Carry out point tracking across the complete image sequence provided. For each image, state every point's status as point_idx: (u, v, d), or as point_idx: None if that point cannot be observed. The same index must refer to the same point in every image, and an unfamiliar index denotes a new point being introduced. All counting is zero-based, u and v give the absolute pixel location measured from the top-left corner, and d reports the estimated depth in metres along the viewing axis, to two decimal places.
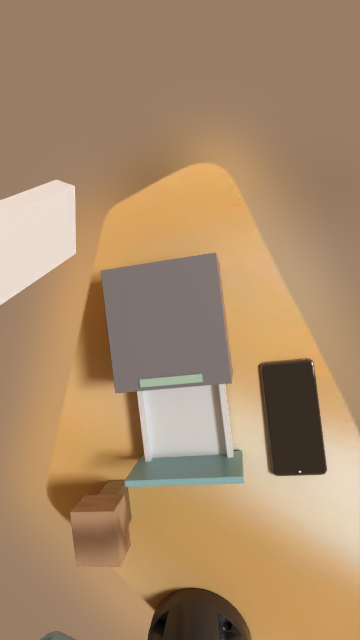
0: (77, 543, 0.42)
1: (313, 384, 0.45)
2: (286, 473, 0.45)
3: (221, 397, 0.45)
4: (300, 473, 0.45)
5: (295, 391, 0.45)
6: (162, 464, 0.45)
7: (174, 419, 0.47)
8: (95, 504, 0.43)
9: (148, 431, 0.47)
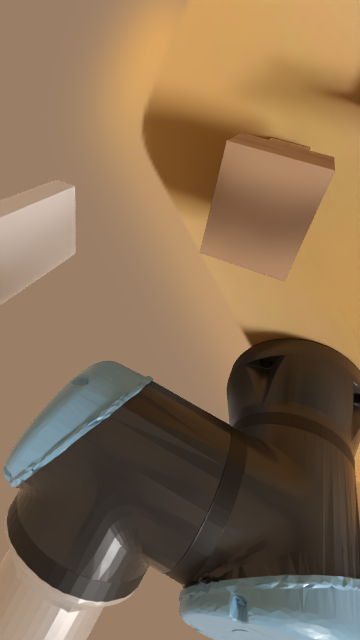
0: (217, 213, 0.20)
1: None
2: None
3: None
4: None
5: None
6: None
7: None
8: (278, 149, 0.19)
9: None
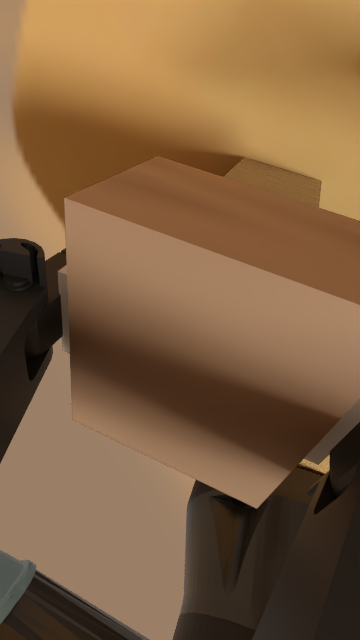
0: (88, 364, 0.08)
1: None
2: None
3: None
4: None
5: None
6: None
7: None
8: (236, 220, 0.06)
9: None
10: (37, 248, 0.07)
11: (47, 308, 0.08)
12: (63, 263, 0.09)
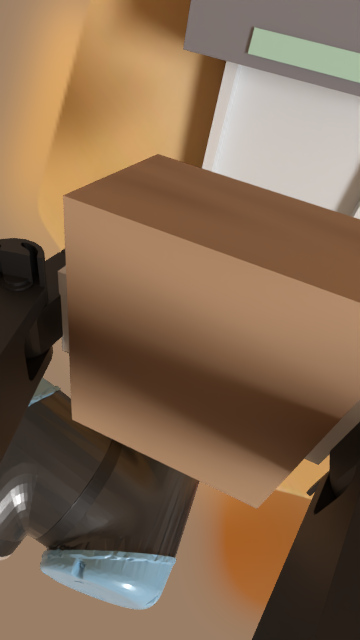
0: (87, 363, 0.08)
1: None
2: None
3: None
4: None
5: None
6: None
7: (265, 171, 0.25)
8: (236, 218, 0.06)
9: None
10: (37, 248, 0.07)
11: (48, 308, 0.08)
12: (63, 263, 0.09)
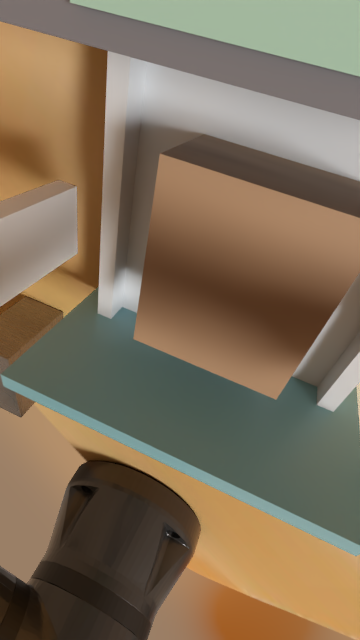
0: (155, 284, 0.11)
1: None
2: None
3: None
4: None
5: None
6: (136, 346, 0.16)
7: None
8: (268, 172, 0.09)
9: (124, 243, 0.15)
10: None
11: None
12: None
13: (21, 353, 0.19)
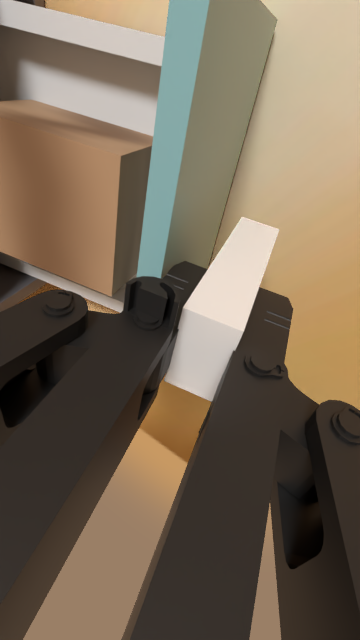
0: (56, 265, 0.15)
1: None
2: None
3: (21, 24, 0.12)
4: None
5: None
6: None
7: None
8: None
9: None
10: (174, 291, 0.07)
11: (168, 349, 0.08)
12: None
13: None
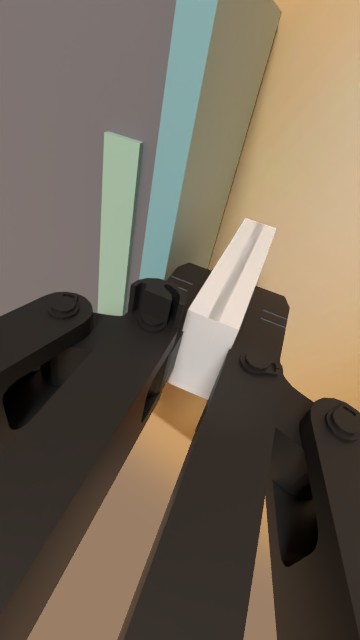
0: None
1: None
2: None
3: None
4: None
5: None
6: None
7: None
8: None
9: None
10: (179, 293, 0.07)
11: (172, 351, 0.08)
12: None
13: None
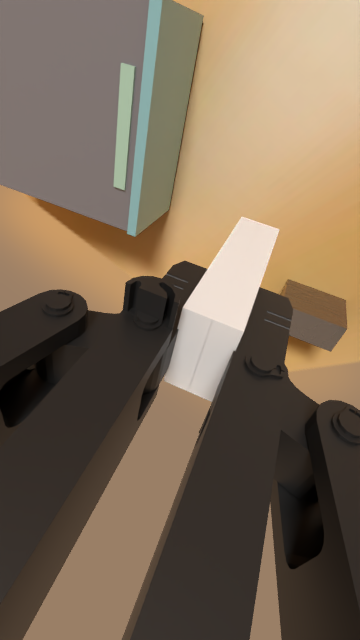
0: None
1: None
2: None
3: None
4: None
5: None
6: None
7: None
8: None
9: None
10: (174, 291, 0.07)
11: (168, 349, 0.08)
12: None
13: None
